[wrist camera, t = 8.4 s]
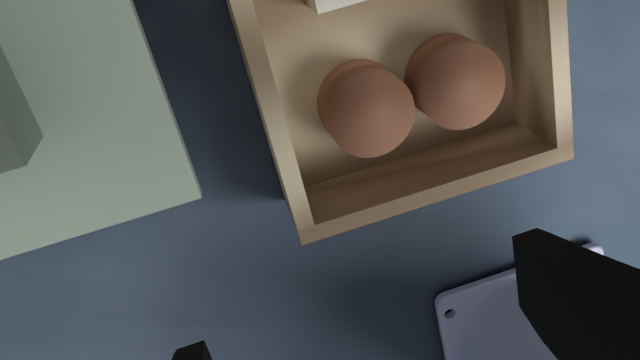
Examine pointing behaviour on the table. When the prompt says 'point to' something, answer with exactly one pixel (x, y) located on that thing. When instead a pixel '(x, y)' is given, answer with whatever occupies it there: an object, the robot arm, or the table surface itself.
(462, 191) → the crate
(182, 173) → the lid
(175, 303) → the table surface
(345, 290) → the table surface
